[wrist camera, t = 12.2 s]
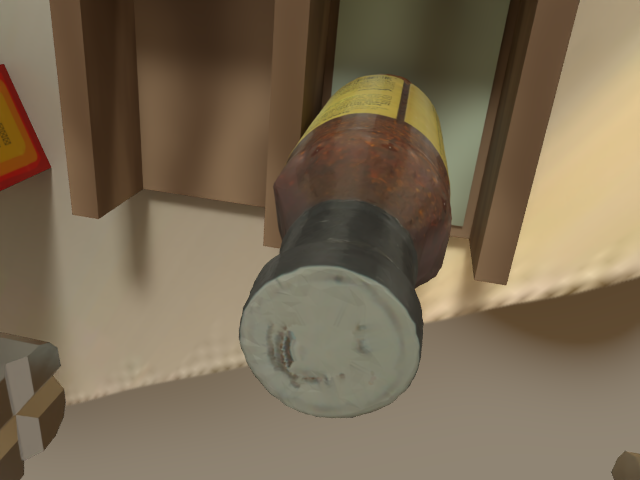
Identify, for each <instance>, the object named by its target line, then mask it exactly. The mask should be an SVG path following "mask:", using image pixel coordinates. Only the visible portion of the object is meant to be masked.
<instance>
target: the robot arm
mask: <svg viewBox="0 0 640 480" xmlns="http://www.w3.org/2000/svg"><path fill="white" fill-rule="evenodd" d="M60 366H61V364H60V359H59V354H58V349H57V347H55V346H54V345H52V344H51V343H49V342H44V341H40V340H35V339H30V338H26V337H21V336H16V335H12V334H7V333H2V332H0V480H20V479H21V478H22V477H23V475H24V461H25V460H27V459H29V458H31V457H33V456H35V455H37V454H39V453H41V452H43V451H44V450H45V449H46V447H47V446H48V445H49V444H50V443H51V441H52V440H53V439H54V437H55V436H56V434H57V432H58V429H59V427H60V424H61V422H62V420H63V418H64V411H65V404H66V400H65V392H64V388H63V387H62V386H61V385H60V383H59V382H58V381H57V380H56V378H55V377H54V376H53V375H54V374H55V372H56V371H57V370H58V369H59V367H60ZM611 473H612V476H613V478H614V480H640V454H638V453H633V452H627V451H625V452H623V453H622V454H621V455H620V456H619V457H618V459H617V460H616V463H615V465H614V467H613V469H612V472H611Z"/></svg>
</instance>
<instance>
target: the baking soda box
mask: <svg viewBox="0 0 640 480" xmlns="http://www.w3.org/2000/svg"><path fill="white" fill-rule="evenodd" d="M49 168H51V166H50V164H49V161H48V159H47V157H46V155H45V153H44V151H43V148H42V146H41V144H40V142H39V140H38V137H37V135H36V133H35V131H34V129H33V127H32V124H31V122H30V120H29V118H28V116H27V113H26V111H25V109H24V107H23V105H22V103H21V100H20V98H19V96H18V94H17V92H16V89H15V87H14V85H13V83H12V81H11V79H10V76H9V74H8V72H7V70H6V68H5V66H4V64H1V65H0V191H1V190H3V189H6V188H8V187H10V186H12V185H14V184H16V183H19V182H21V181H23V180H25V179H27V178H29V177H32V176H34V175H36V174H38V173H40V172H43V171H45V170H47V169H49Z"/></svg>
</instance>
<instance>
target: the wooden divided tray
mask: <svg viewBox="0 0 640 480" xmlns="http://www.w3.org/2000/svg"><path fill="white" fill-rule="evenodd" d="M579 1H580V0H50V10H51V19H52V28H53V37H54V47H55V56H56V65H57V75H58V84H59V93H60V103H61V112H62V121H63V131H64V140H65V149H66V158H67V168H68V177H69V186H70V196H71V205H72V214H73V215H78V216H84V217H90V218H96V219H99V218H101V217H102V216H104V215H105V214H107V213H108V212H110V211H111V210H113V209H114V208H116V207H117V206H119V205H120V204H121V203H123V202H124V201H126V200H127V199H129V198H130V197H132V196H133V195H135V194H136V193H138V192H139V191H141V190H142V189H148V190H154V191H161V192H167V193H174V194H180V195H187V196H193V197H200V198H207V199H213V200H220V201H226V202H233V203H239V204H246V205H252V206H259V207H265V221H264V242H263V246H268V247H274V248H280V247H281V243H282V239H281V236H280V232H279V228H278V221H277V214H276V204H275V197H274V190H273V185H274V182H275V181H276V179H277V177H278V176H279V175H280V173H281V172H282V170H283V168H284V167H285V164H286V162H287V160H288V158H289V156H290V154H291V152H292V151H293V149H294V148H295V146H296V145H297V144H298V142H299V141H300V139H301V138H302V136H303V135H304V133H305V132H306V130H307V129H308V128H309V126H310V125H311V123H312V122H313V121H314V119H315V118H316V117H317V115H318V114H319V113H320V111H321V110H322V109H323V107H324V106H325V105H326V103H327V102H328V100H329V99H330V98H331V97H332V96H333V95H334V94H335V93H336V92H337V91H338V90H339V89H340V88H342V87H343V86H345V85H346V84H348V83H349V82H351V81H353V80H355V79H356V78H358V77H363V76H369V75H376V74H392V75H397V76H401V77H404V78H406V79H407V80H409V81H410V82H411V83H412V84H414V85H415V86H417V87H418V88H419V89H420V90H421V91H422V92H423V93H424V94H425V95H426V96H427V97H428V98H429V100H430V101H431V103H432V104H433V106H434V108H435V109H436V112H437V115H438V117H439V121H440V125H441V131H442V136H443V143H444V150H445V156H446V161H447V167H448V174H449V180H450V191H451V196H450V206H451V215H452V221H451V232H450V236H455V237H461V238H468V239H469V241H470V249H471V257H472V265H473V273H474V280H477V281H483V282H489V283H496V284H502V285H506V284H507V281H508V277H509V273H510V269H511V265H512V261H513V257H514V253H515V250H516V246H517V242H518V238H519V234H520V230H521V226H522V222H523V218H524V215H525V211H526V207H527V203H528V199H529V195H530V191H531V187H532V183H533V180H534V176H535V172H536V168H537V164H538V160H539V156H540V152H541V148H542V145H543V141H544V137H545V133H546V129H547V125H548V121H549V117H550V114H551V110H552V106H553V102H554V98H555V94H556V90H557V86H558V82H559V79H560V75H561V71H562V67H563V63H564V59H565V55H566V51H567V47H568V44H569V40H570V36H571V32H572V28H573V24H574V20H575V16H576V13H577V9H578V5H579Z"/></svg>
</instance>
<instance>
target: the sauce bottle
mask: <svg viewBox="0 0 640 480" xmlns="http://www.w3.org/2000/svg"><path fill="white" fill-rule="evenodd" d="M273 190H274V197H275V204H276V214H277V221H278V228H279V232H280V236H281V239H282V243H281V247H280V254H279V255H278V256H276V257H274V258H273V259H271V260H270V261H269V262H268V263H267V264H266V265H265V266H264V267H263V269H262V270H261V272H260V273H259V275H258V277H257V278H256V280H255V282H254V285H253V288H252V290H251V291H250V295H249V298H248V300H247V301H246V303H245V305H244V307H243V313H242V317H241V321H240V328H239V340H240V345H241V349H242V351H243V353H244V355H245V358H246V362H247V363H248V365H249V367H250V369H251V370H252V372H253V374H254V375H255V377H256V378H257V379H258V380H259V381H260V382H261V384H262V385H263V386H264V387H265V388H266V390H267V391H268V392H269V393H270V394H271V395H273V396H274V397H276V398H278V399H279V400H280V401H281V402H282V403H284V404H285V405H286V406H288V407H291V408H293V409H295V410H297V411H299V412H302V413H305V414H309V415H313V416H316V417H327V418H349V417H350V418H353V417H356V416H359V415H362V414H366V413H371V412H373V411H376V410H378V409H381V408H382V407H385V406H387V405H389V404H391V403H392V402H393V401H395V400H396V399H397V397H398V396H399V395H401V394H402V393H403V392H405V391H406V389H407V388H408V387H409V386H410V384H411V382H412V380H413V379H414V377H415V375H416V372H417V370H418V366H419V362H420V358H421V348H422V338H423V324H424V323H423V319H422V309H421V305H420V302H419V299H418V297H417V294H416V292H415V288H417V287H418V286H420V285H422V284H424V283H426V282H428V281H429V280H430V279H432V278H434V277H436V275H437V273H438V271H439V270H440V268H441V267H442V264H443V260H444V256H445V252H446V248H447V244H448V240H449V237H450V232H451V221H452V215H451V206H450V196H451V191H450V180H449V174H448V167H447V161H446V156H445V150H444V143H443V136H442V131H441V125H440V121H439V117H438V115H437V112H436V109H435V108H434V106H433V104H432V103H431V101H430V100H429V98H428V97H427V96H426V95H425V94H424V93H423V92H422V91H421V90H420V89H419V88H418V87H417V86H415V85H414V84H412V83H411V82H410V81H409V80H407V79H406V78H404V77H401V76H397V75H392V74H376V75H369V76H363V77H358V78H356V79H355V80H353V81H351V82H349V83H348V84H346V85H345V86H343V87H342V88H340V89H339V90H338V91H337V92H336V93H335V94H334V95H333V96H332V97H331V98H330V99H329V100H328V102H327V103H326V105H325V106H324V107H323V109H322V110H321V111H320V113H319V114H318V115H317V117H316V118H315V119H314V121H313V122H312V123H311V125H310V126H309V128H308V129H307V130H306V132H305V133H304V135H303V136H302V138H301V139H300V141H299V142H298V144H297V145H296V146H295V148H294V149H293V151H292V152H291V154H290V156H289V158H288V160H287V162H286V164H285V167H284V168H283V170H282V172H281V173H280V175H279V176H278V177H277V179H276V181H275V182H274V185H273Z"/></svg>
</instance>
